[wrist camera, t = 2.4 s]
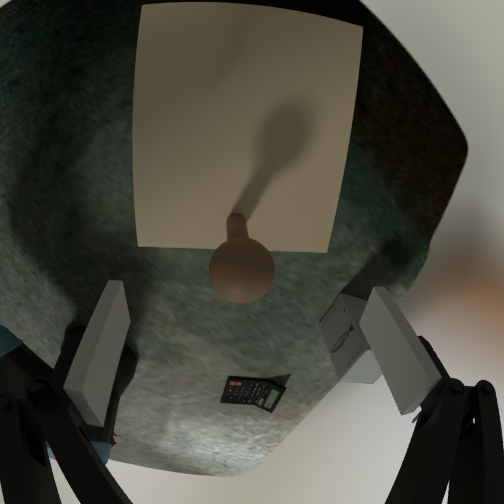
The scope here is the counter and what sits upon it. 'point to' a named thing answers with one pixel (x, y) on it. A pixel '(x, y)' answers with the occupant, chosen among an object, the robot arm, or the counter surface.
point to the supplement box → (349, 341)
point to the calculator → (252, 392)
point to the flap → (241, 133)
